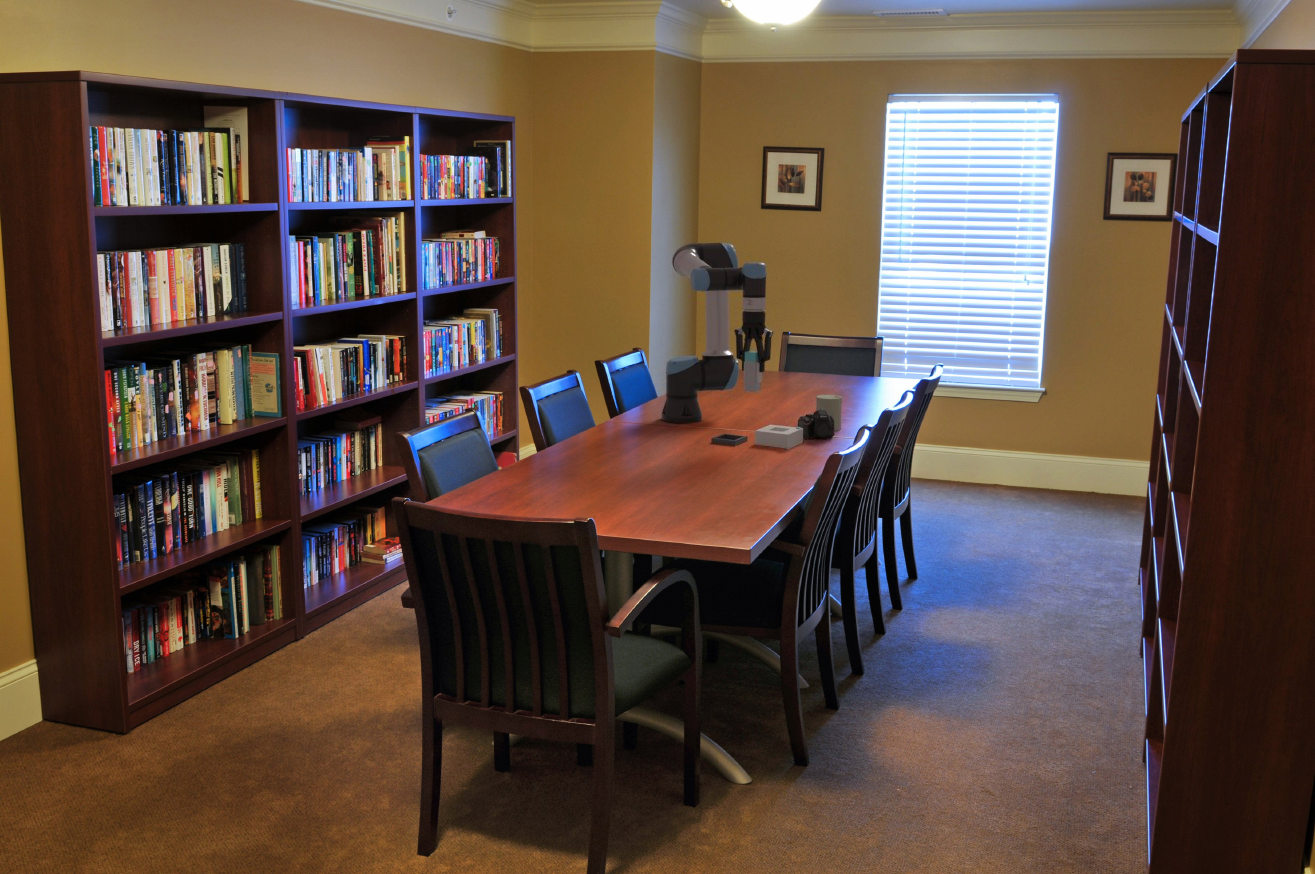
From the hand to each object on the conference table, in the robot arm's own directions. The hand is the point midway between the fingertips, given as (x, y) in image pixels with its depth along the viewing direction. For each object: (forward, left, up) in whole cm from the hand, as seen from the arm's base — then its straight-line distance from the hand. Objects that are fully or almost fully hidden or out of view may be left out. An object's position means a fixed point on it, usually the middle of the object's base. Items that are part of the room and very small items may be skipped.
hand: (752, 381), depth 365 cm
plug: (0, 0, -3) cm, 3 cm away
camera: (+15, +21, -22) cm, 33 cm away
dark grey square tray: (-7, -3, -21) cm, 23 cm away
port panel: (+8, +4, -21) cm, 23 cm away
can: (+12, +37, -22) cm, 45 cm away
